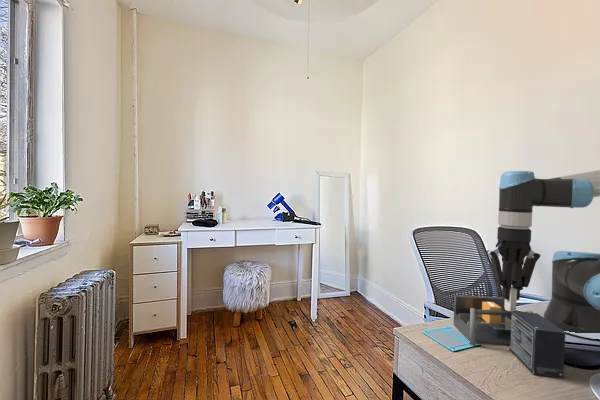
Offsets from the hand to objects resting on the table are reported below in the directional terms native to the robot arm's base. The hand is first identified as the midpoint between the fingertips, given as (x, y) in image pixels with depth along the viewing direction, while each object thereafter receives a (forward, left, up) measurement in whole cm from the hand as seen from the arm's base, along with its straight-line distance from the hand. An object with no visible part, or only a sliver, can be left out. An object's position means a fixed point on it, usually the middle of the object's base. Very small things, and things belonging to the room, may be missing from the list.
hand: (510, 310), depth 80 cm
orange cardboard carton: (+5, 0, -4) cm, 6 cm away
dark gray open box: (+5, 0, -8) cm, 9 cm away
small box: (+1, +12, -8) cm, 15 cm away
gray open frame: (+5, +6, -8) cm, 11 cm away
